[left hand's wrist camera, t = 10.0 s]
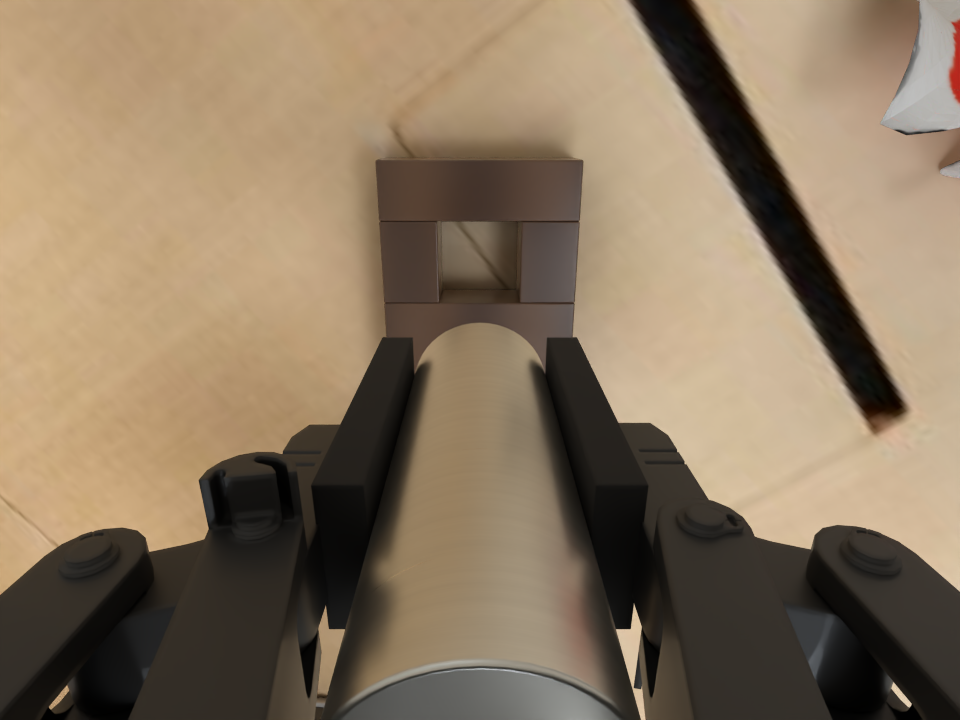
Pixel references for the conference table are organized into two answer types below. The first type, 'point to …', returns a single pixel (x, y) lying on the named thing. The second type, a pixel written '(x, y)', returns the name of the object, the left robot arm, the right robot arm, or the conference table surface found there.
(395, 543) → the peg
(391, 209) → the peg board
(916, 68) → the fish
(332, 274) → the conference table surface
